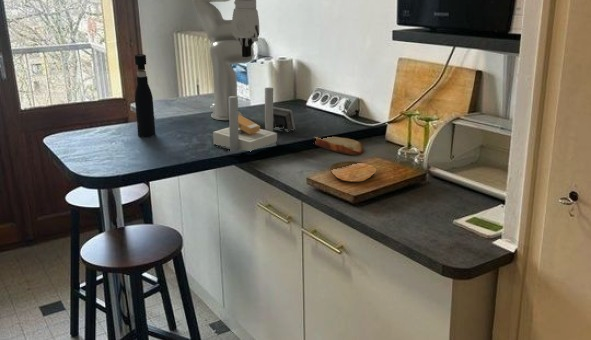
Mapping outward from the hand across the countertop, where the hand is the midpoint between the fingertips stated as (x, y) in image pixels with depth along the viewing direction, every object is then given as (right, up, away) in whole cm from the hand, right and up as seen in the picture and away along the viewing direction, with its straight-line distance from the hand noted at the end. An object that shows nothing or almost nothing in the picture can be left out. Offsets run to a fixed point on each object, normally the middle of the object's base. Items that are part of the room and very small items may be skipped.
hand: (246, 56), depth 211 cm
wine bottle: (-38, -29, +5) cm, 48 cm away
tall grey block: (+8, -32, -1) cm, 33 cm away
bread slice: (+33, -34, -6) cm, 48 cm away
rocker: (0, -26, -8) cm, 27 cm away
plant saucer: (+36, -44, -32) cm, 65 cm away
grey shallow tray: (0, -33, -6) cm, 34 cm away
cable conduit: (-3, -36, -14) cm, 39 cm away
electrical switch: (+13, -27, +12) cm, 32 cm away
